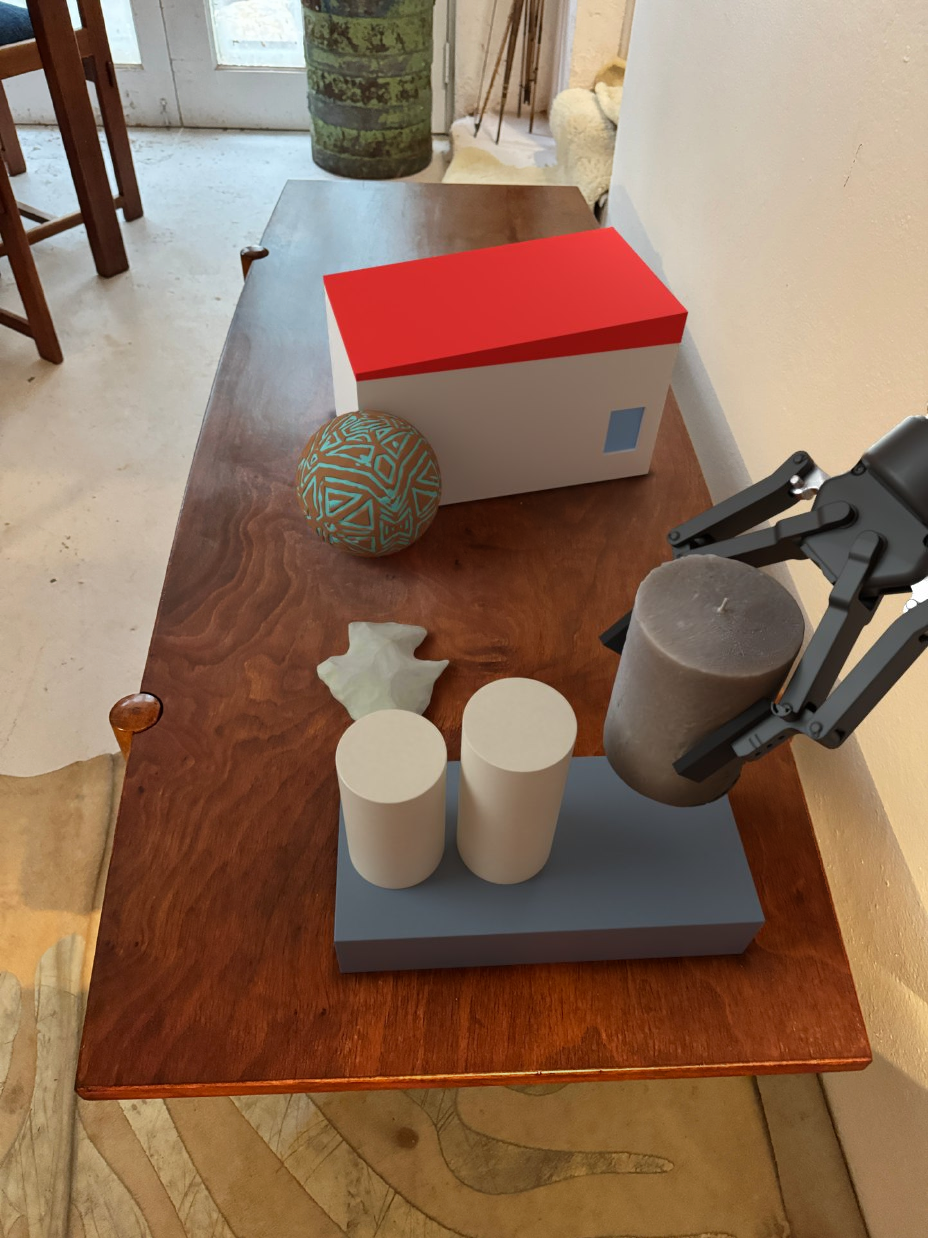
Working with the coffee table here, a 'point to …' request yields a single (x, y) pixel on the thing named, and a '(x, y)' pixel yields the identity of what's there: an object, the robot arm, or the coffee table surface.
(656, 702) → the pillar candle
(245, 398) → the coffee table surface
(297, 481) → the decorative sphere
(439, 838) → the short ivory candle
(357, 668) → the arrowhead
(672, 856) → the plinth
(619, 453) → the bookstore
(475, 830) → the tall ivory candle
